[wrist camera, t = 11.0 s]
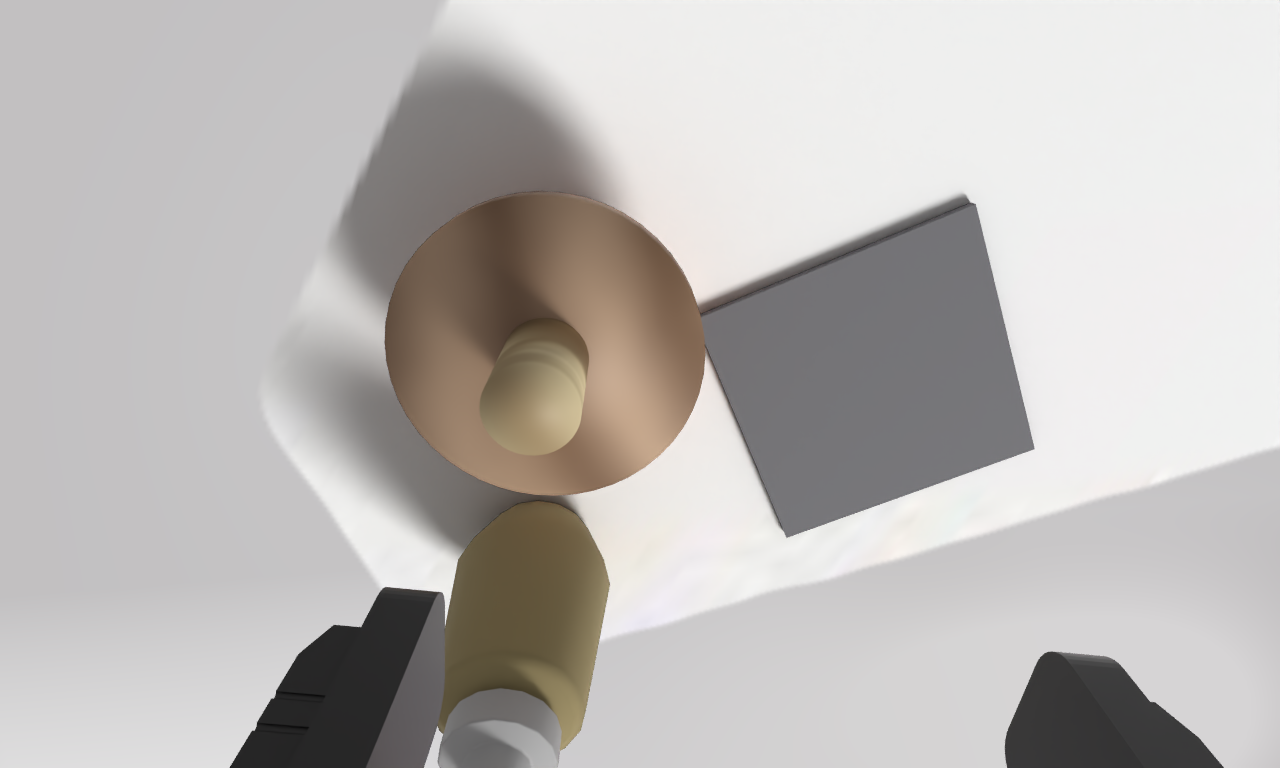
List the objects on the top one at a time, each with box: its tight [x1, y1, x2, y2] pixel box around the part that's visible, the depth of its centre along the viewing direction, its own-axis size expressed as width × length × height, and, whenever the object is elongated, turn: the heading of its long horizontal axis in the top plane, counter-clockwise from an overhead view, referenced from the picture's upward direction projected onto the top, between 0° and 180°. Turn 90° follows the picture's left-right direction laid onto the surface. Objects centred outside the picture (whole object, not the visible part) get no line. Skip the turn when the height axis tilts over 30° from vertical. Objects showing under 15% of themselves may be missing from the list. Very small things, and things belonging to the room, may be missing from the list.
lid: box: [385, 191, 705, 496], centre depth 27 cm, size 13×13×6 cm
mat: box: [700, 203, 1034, 537], centre depth 37 cm, size 14×14×1 cm
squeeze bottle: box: [437, 501, 610, 768], centre depth 32 cm, size 8×8×18 cm
